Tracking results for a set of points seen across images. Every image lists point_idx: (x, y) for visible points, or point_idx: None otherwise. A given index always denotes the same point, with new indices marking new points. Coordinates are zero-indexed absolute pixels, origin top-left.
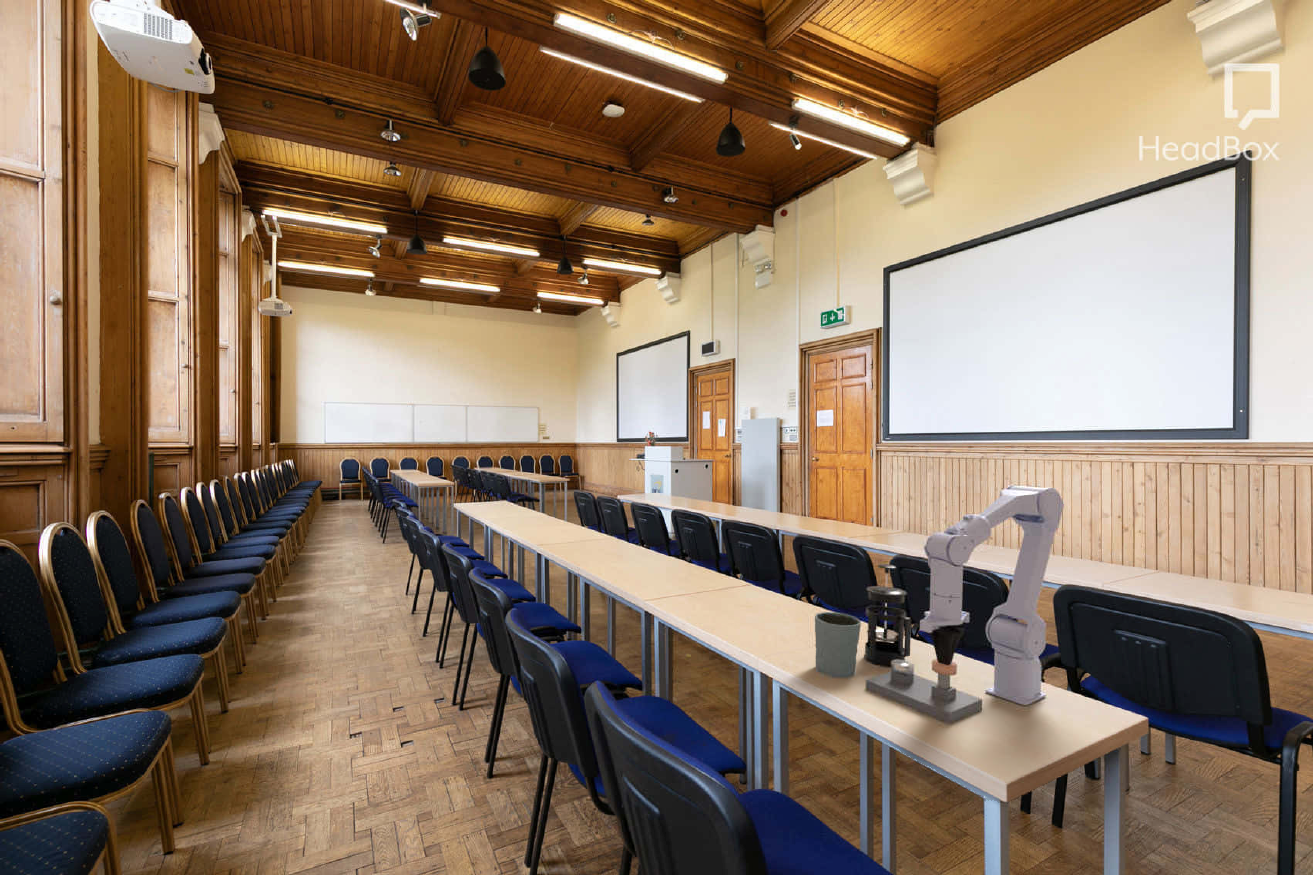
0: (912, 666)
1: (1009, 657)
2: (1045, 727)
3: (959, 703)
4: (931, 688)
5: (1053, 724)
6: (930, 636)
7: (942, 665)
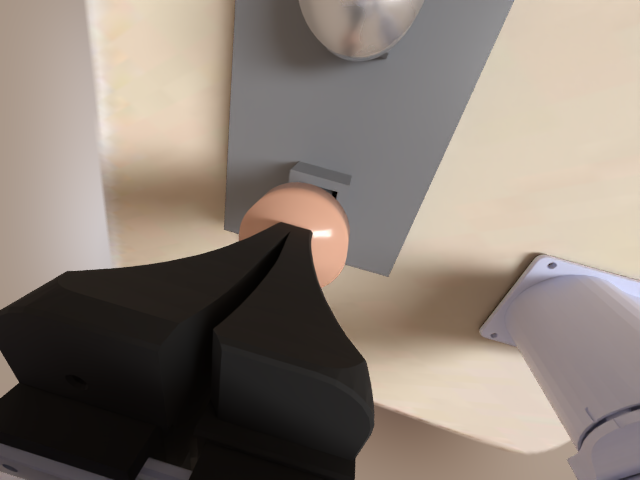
0: (351, 53)
1: (583, 426)
2: (376, 354)
3: None
4: (370, 140)
5: (403, 364)
6: (156, 266)
7: None
